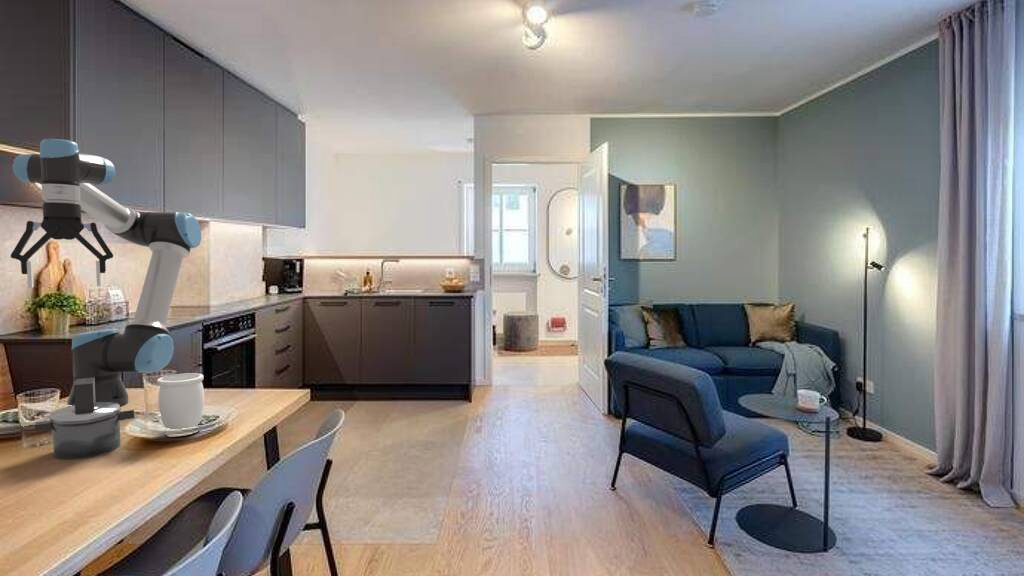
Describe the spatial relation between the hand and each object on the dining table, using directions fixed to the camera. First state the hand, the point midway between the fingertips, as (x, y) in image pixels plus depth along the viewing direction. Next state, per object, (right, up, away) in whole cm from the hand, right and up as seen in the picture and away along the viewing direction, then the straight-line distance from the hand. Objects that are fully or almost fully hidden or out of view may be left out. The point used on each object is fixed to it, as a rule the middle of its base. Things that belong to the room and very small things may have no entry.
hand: (65, 286), depth 143 cm
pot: (+11, -39, -7) cm, 41 cm away
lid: (+11, -31, -8) cm, 33 cm away
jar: (+26, -39, +6) cm, 47 cm away
